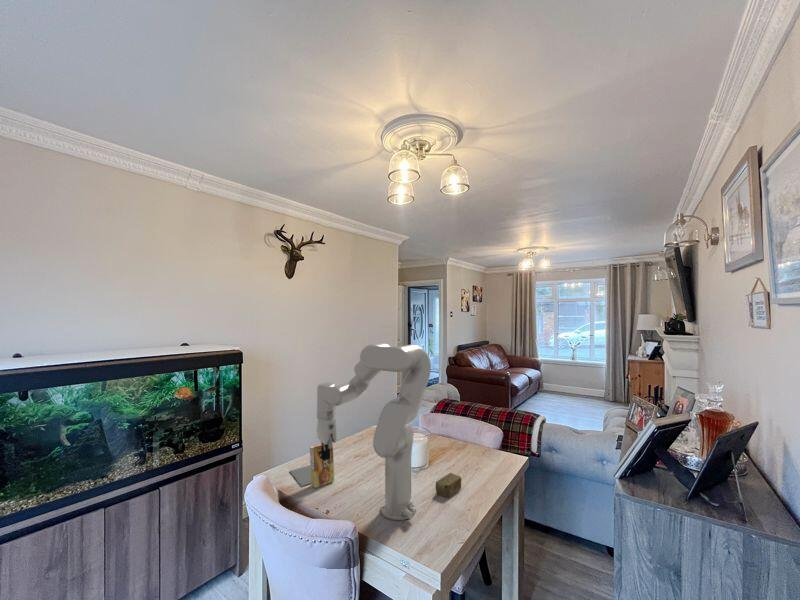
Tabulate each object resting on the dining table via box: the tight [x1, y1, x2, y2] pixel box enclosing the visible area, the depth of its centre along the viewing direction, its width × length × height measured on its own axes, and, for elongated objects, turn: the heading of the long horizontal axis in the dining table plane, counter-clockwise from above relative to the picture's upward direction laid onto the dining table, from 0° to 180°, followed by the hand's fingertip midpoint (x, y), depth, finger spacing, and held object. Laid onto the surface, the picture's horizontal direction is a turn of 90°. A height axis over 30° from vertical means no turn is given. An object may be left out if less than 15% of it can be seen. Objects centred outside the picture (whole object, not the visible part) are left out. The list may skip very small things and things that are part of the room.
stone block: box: [435, 472, 462, 498], centre depth 134 cm, size 6×12×5 cm, turn 138°
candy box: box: [309, 443, 335, 488], centre depth 140 cm, size 9×4×15 cm, turn 129°
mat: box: [289, 465, 311, 487], centre depth 147 cm, size 16×14×1 cm
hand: (325, 458), depth 137 cm, fingers closed
